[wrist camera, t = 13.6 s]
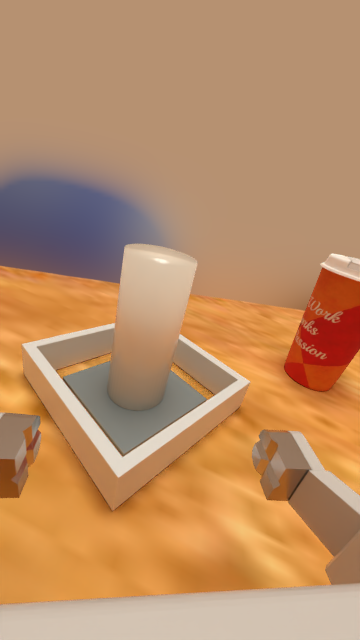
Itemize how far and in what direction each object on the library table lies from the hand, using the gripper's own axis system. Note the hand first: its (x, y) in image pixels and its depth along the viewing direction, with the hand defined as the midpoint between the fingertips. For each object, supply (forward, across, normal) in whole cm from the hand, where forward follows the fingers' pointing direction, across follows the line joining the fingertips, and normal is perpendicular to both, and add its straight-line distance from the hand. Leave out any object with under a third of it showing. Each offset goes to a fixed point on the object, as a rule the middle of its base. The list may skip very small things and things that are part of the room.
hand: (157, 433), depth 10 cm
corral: (+11, 0, +8) cm, 14 cm away
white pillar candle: (+11, 0, +8) cm, 14 cm away
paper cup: (+16, -20, +8) cm, 27 cm away
